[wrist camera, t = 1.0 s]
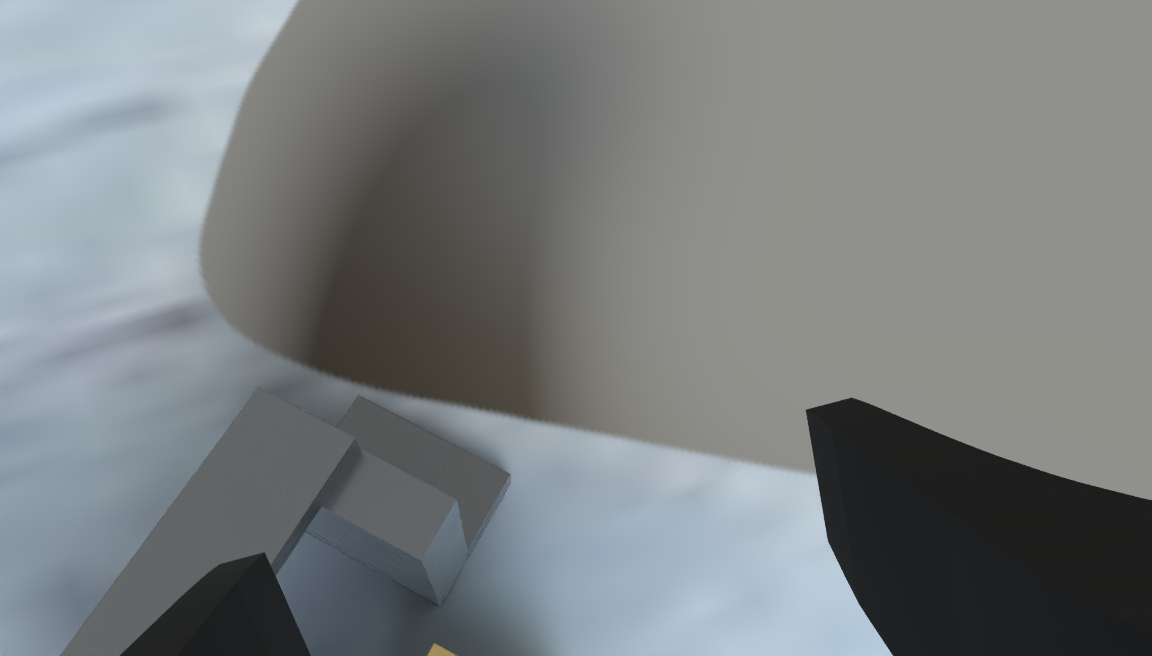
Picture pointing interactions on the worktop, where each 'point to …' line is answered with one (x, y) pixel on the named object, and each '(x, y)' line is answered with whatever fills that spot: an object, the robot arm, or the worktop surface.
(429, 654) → the plug
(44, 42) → the worktop surface
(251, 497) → the housing
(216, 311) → the worktop surface
